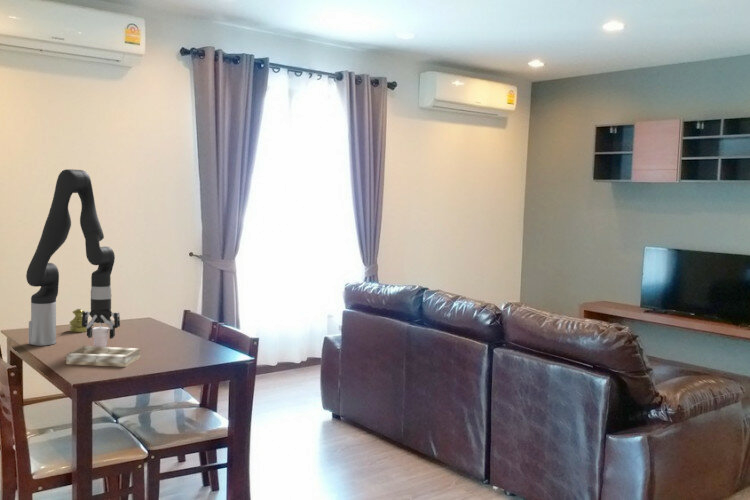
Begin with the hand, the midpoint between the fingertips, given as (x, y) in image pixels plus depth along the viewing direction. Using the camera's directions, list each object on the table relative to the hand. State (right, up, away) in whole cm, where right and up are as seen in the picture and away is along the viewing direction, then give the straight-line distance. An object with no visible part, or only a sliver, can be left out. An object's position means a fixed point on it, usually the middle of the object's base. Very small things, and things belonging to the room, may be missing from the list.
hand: (100, 337), depth 266 cm
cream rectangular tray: (+6, -7, -12) cm, 16 cm away
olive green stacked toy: (-26, -2, +38) cm, 46 cm away
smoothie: (0, -6, +1) cm, 6 cm away
